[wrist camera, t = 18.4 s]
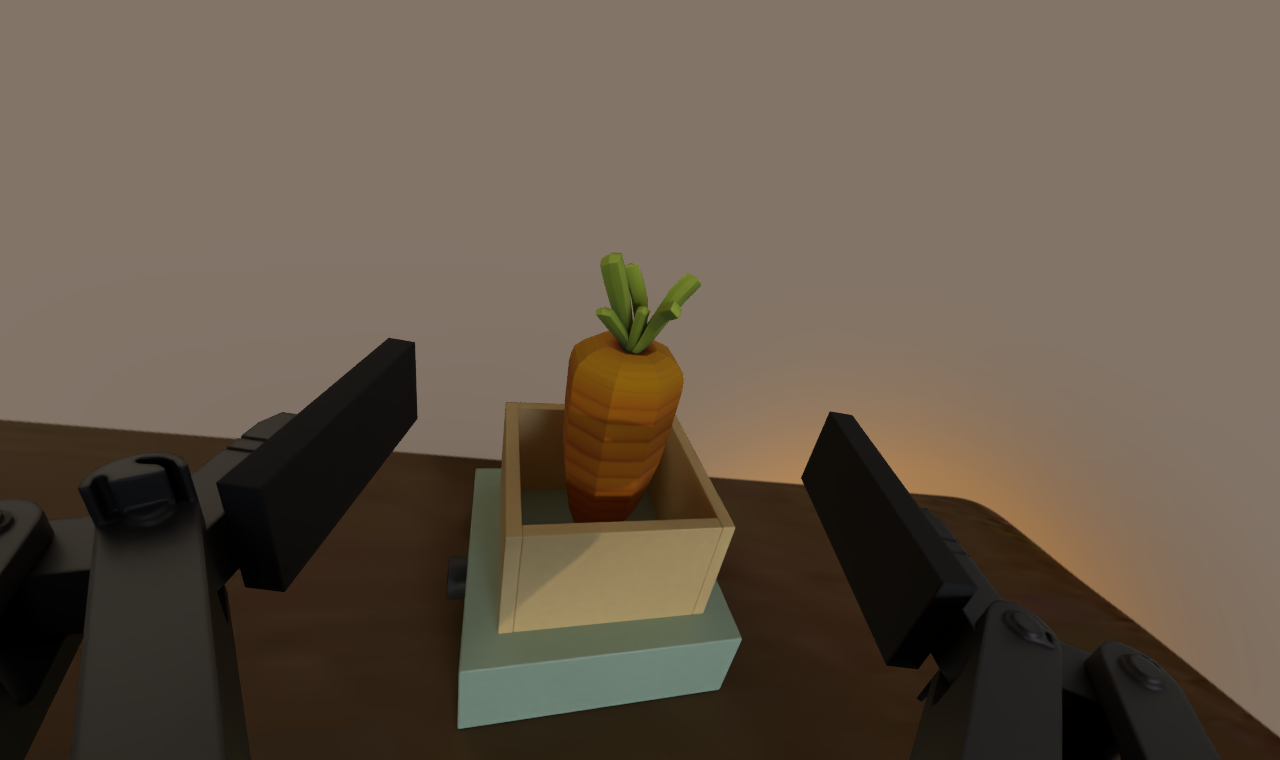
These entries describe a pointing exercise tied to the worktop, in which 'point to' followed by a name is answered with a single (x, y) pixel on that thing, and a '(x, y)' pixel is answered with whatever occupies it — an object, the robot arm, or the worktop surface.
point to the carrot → (620, 398)
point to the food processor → (587, 585)
